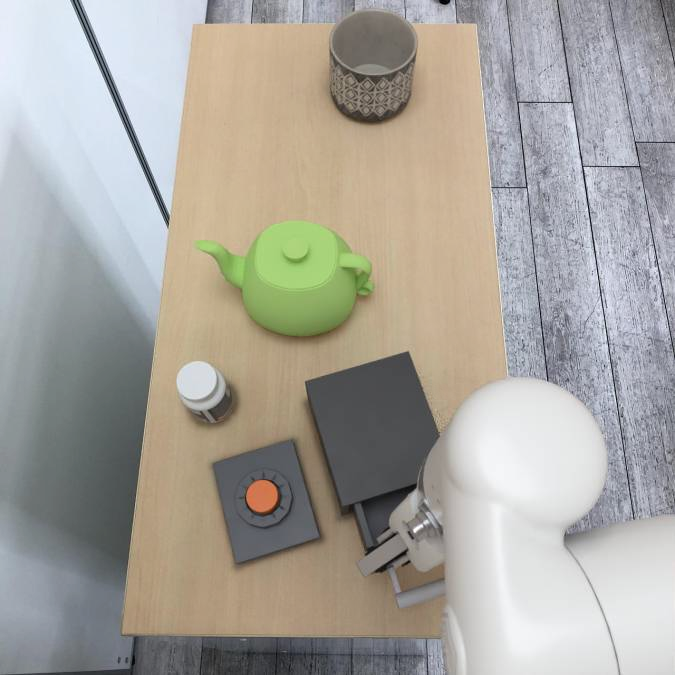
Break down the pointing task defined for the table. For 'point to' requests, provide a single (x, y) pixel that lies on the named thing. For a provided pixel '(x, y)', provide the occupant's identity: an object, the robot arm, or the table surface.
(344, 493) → the drawer cabinet casing
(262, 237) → the teapot
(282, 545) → the control pad
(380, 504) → the drawer with pull handle
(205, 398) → the pill bottle
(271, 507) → the button
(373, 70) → the planter
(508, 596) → the robot arm
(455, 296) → the table surface
